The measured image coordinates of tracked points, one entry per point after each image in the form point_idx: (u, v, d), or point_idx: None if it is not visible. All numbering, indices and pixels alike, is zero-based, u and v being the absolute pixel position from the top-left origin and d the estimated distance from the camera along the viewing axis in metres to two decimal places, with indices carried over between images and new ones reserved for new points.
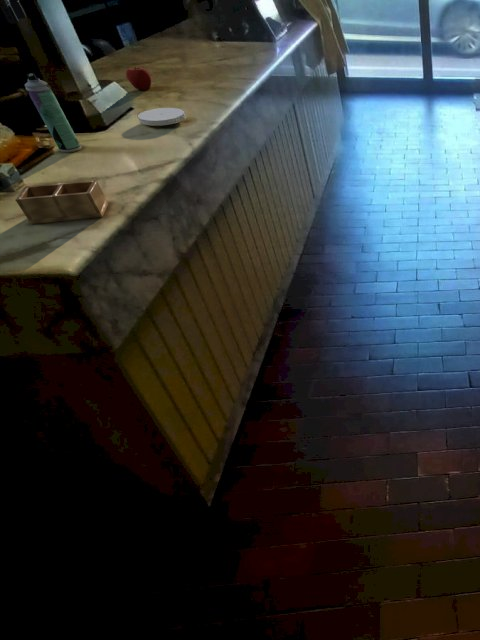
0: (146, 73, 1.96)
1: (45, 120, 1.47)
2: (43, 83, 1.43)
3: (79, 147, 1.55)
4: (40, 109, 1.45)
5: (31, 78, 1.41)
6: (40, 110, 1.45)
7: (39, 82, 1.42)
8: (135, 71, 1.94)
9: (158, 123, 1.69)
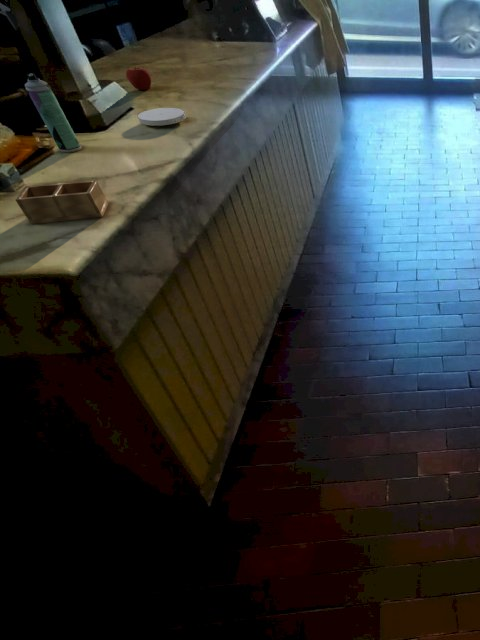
0: (146, 73, 1.96)
1: (45, 120, 1.47)
2: (43, 83, 1.43)
3: (79, 147, 1.55)
4: (40, 109, 1.45)
5: (31, 78, 1.41)
6: (40, 110, 1.45)
7: (39, 82, 1.42)
8: (135, 71, 1.94)
9: (158, 123, 1.69)
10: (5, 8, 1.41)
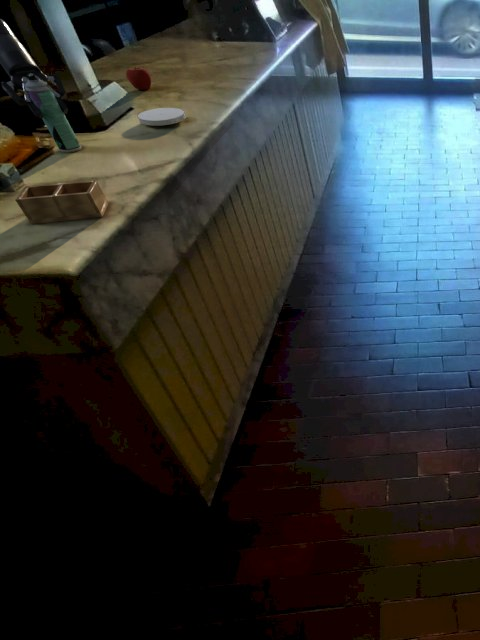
0: (146, 73, 1.96)
1: (45, 120, 1.47)
2: (43, 83, 1.42)
3: (79, 147, 1.55)
4: (40, 109, 1.45)
5: (31, 78, 1.41)
6: (40, 110, 1.45)
7: (39, 82, 1.42)
8: (135, 71, 1.94)
9: (158, 123, 1.69)
10: (55, 94, 1.47)
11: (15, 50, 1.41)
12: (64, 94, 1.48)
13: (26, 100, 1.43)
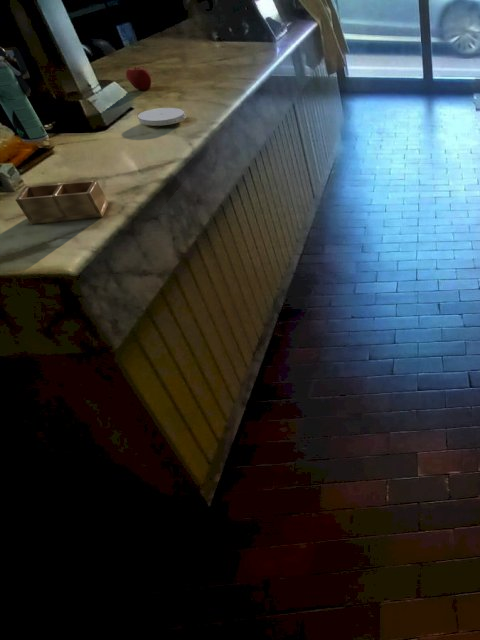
0: (146, 73, 1.96)
1: (3, 103, 1.21)
2: None
3: (45, 136, 1.29)
4: None
5: None
6: None
7: None
8: (135, 71, 1.94)
9: (158, 123, 1.69)
10: (15, 72, 1.22)
11: None
12: (26, 72, 1.23)
13: None
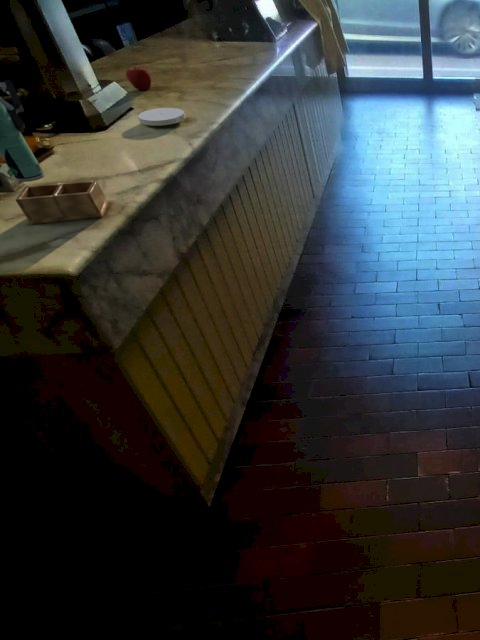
0: (146, 73, 1.96)
1: None
2: None
3: (42, 174, 1.19)
4: None
5: None
6: None
7: None
8: (135, 71, 1.94)
9: (158, 123, 1.69)
10: (7, 106, 1.11)
11: None
12: (20, 106, 1.12)
13: None
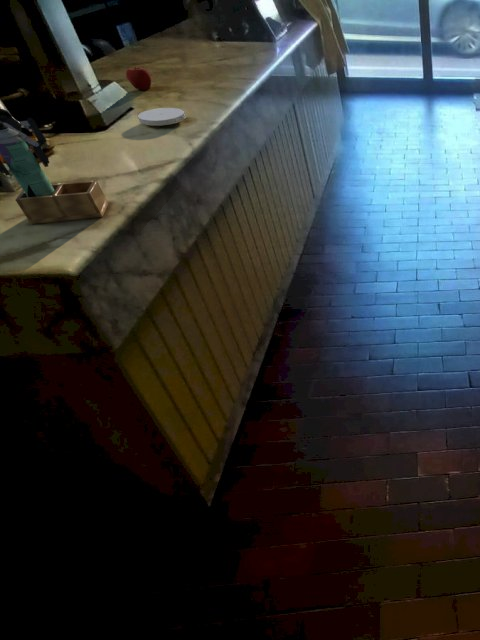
0: (146, 73, 1.96)
1: (18, 178, 1.16)
2: (14, 133, 1.12)
3: None
4: (10, 165, 1.14)
5: None
6: (10, 166, 1.14)
7: (8, 132, 1.11)
8: (135, 71, 1.94)
9: (158, 123, 1.69)
10: (33, 143, 1.17)
11: None
12: (44, 142, 1.18)
13: None
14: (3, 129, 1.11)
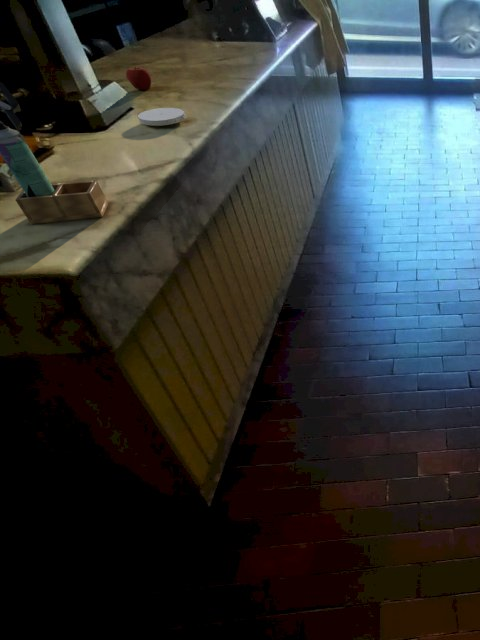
0: (146, 73, 1.96)
1: (18, 178, 1.16)
2: (14, 133, 1.12)
3: None
4: (10, 165, 1.14)
5: None
6: (10, 166, 1.14)
7: (8, 132, 1.11)
8: (135, 71, 1.94)
9: (158, 123, 1.69)
10: (5, 106, 1.20)
11: None
12: (17, 106, 1.21)
13: None
14: (3, 129, 1.11)
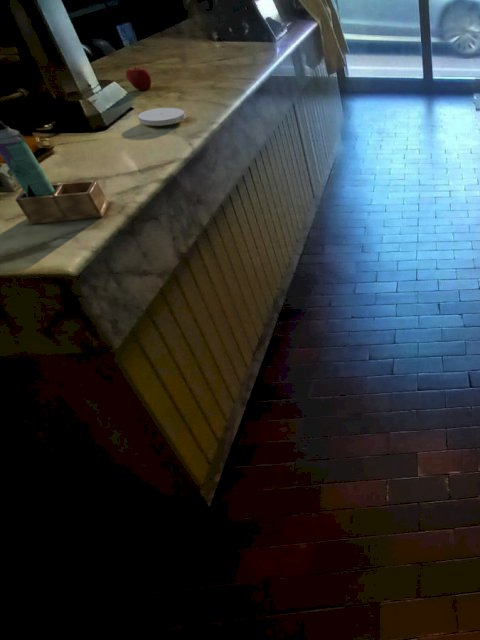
0: (146, 73, 1.96)
1: (18, 178, 1.16)
2: (14, 133, 1.12)
3: None
4: (10, 165, 1.14)
5: None
6: (10, 166, 1.14)
7: (8, 132, 1.11)
8: (135, 71, 1.94)
9: (158, 123, 1.69)
10: None
11: None
12: None
13: None
14: (3, 129, 1.11)
